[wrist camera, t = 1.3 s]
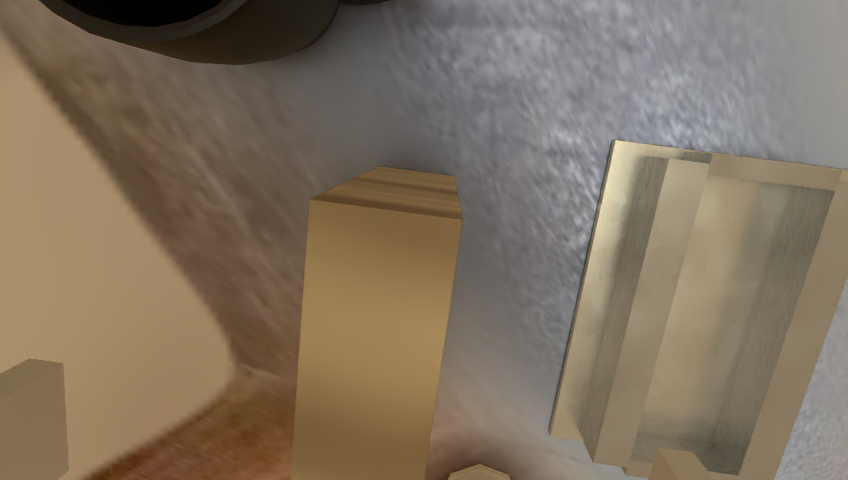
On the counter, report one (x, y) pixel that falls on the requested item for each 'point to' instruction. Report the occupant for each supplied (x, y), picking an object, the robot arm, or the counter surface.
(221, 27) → the mug
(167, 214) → the counter surface
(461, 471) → the cup
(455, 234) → the wooden block
